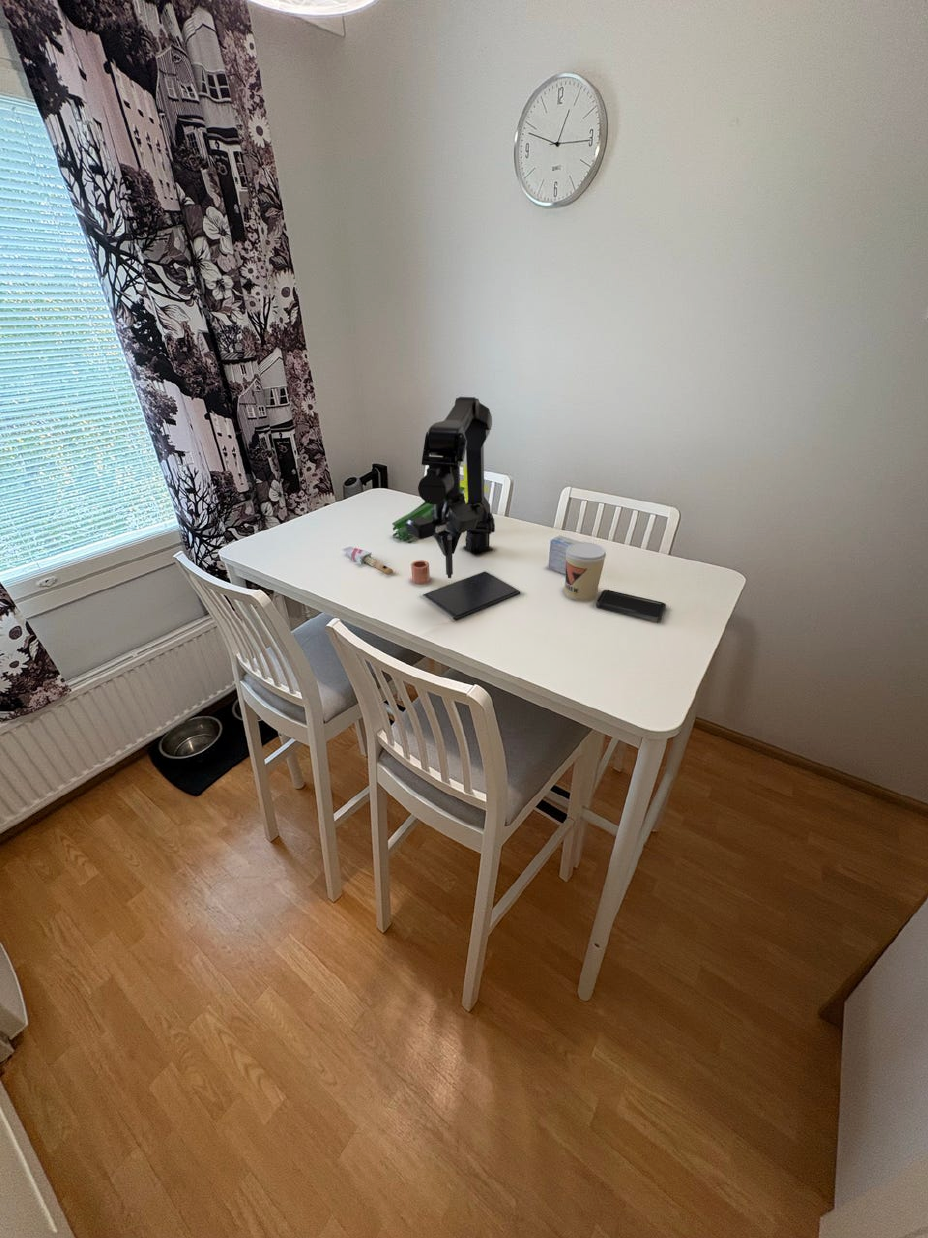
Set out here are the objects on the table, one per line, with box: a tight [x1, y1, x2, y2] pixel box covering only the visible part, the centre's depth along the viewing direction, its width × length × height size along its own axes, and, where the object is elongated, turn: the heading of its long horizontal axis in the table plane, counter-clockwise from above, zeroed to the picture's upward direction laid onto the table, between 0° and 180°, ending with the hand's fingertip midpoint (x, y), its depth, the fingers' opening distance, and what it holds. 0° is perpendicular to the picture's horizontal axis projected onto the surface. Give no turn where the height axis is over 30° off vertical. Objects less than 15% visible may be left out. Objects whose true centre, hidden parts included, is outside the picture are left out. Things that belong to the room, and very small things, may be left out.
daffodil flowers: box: [391, 461, 490, 543], centre depth 156 cm, size 17×15×35 cm
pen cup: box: [410, 559, 431, 585], centre depth 127 cm, size 5×5×5 cm
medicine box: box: [547, 534, 581, 575], centre depth 131 cm, size 8×4×9 cm, turn 47°
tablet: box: [422, 571, 521, 622], centre depth 122 cm, size 20×14×1 cm
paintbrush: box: [342, 546, 393, 575], centre depth 137 cm, size 4×3×20 cm
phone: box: [595, 589, 667, 623], centre depth 116 cm, size 8×1×15 cm
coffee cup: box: [564, 541, 607, 602], centre depth 119 cm, size 9×9×12 cm
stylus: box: [445, 535, 454, 579], centre depth 113 cm, size 2×2×10 cm
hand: (448, 554), depth 113 cm, fingers closed on stylus, 1 cm apart
